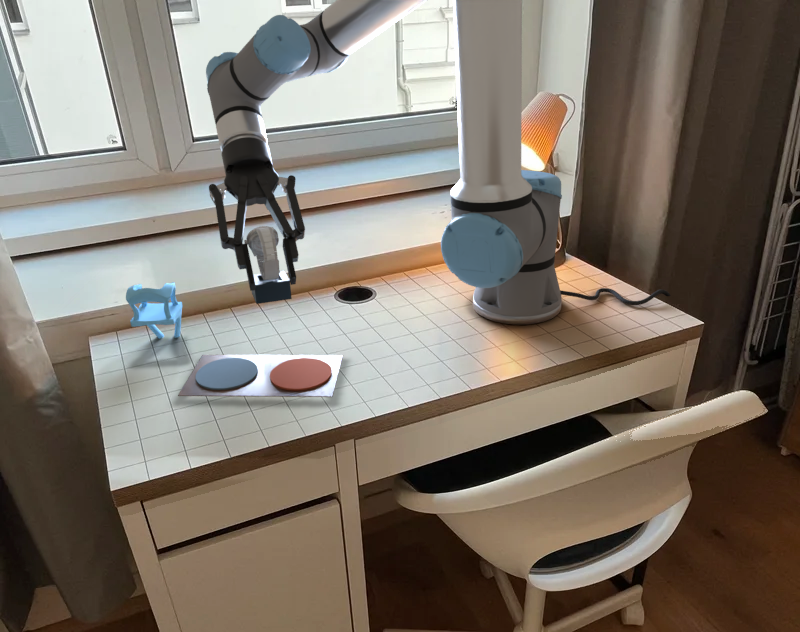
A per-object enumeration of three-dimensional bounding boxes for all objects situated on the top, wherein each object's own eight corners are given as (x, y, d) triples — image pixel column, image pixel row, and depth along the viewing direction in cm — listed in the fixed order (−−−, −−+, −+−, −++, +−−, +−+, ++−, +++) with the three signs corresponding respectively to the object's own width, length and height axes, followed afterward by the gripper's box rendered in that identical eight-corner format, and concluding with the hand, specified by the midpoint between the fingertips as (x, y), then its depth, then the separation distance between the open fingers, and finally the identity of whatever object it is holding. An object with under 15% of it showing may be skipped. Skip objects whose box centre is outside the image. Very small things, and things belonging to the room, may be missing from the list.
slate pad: (263, 359, 108) (263, 357, 107) (250, 390, 100) (249, 388, 100) (205, 359, 108) (205, 357, 108) (187, 390, 100) (187, 388, 100)
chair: (195, 338, 117) (181, 270, 110) (185, 363, 110) (169, 291, 103) (147, 341, 116) (131, 272, 110) (135, 365, 109) (116, 294, 103)
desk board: (343, 361, 109) (343, 354, 108) (333, 403, 99) (332, 396, 98) (203, 361, 110) (202, 354, 109) (179, 402, 100) (177, 395, 99)
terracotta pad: (335, 359, 107) (335, 357, 107) (327, 390, 99) (326, 389, 99) (276, 359, 107) (276, 357, 107) (264, 390, 100) (263, 388, 100)
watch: (283, 284, 116) (276, 218, 110) (294, 303, 110) (287, 234, 104) (249, 289, 115) (240, 222, 109) (258, 308, 108) (249, 238, 102)
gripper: (301, 156, 118) (330, 284, 113) (187, 168, 113) (212, 302, 109) (303, 129, 110) (335, 264, 106) (182, 140, 106) (209, 282, 102)
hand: (273, 283), depth 107 cm, fingers closed on watch, 5 cm apart
